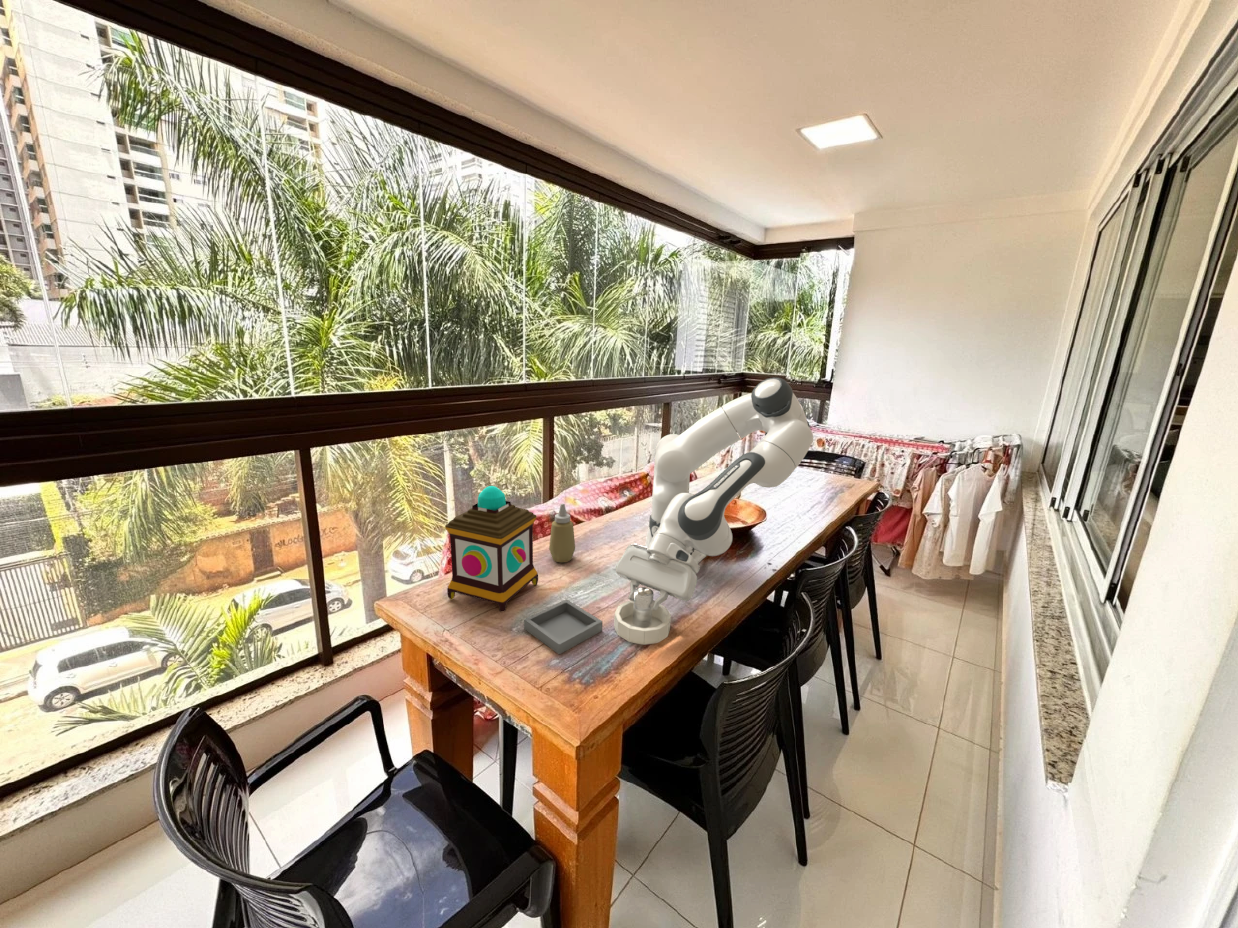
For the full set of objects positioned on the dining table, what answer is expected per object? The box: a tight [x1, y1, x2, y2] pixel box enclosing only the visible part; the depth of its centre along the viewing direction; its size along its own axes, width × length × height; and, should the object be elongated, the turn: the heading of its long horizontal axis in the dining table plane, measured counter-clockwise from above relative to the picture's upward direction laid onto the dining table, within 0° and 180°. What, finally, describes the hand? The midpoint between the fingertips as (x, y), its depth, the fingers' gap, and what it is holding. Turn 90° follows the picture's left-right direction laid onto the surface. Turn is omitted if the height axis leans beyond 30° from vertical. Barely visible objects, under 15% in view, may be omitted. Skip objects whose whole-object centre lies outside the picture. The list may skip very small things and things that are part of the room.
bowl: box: [613, 600, 672, 645], centre depth 119 cm, size 13×13×4 cm
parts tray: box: [523, 599, 603, 655], centre depth 117 cm, size 13×13×4 cm
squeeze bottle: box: [548, 503, 576, 563], centre depth 152 cm, size 8×8×18 cm
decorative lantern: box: [444, 485, 539, 612], centre depth 131 cm, size 20×20×30 cm
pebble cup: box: [633, 586, 654, 628], centre depth 118 cm, size 4×4×9 cm
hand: (642, 604), depth 117 cm, fingers closed on pebble cup, 4 cm apart
